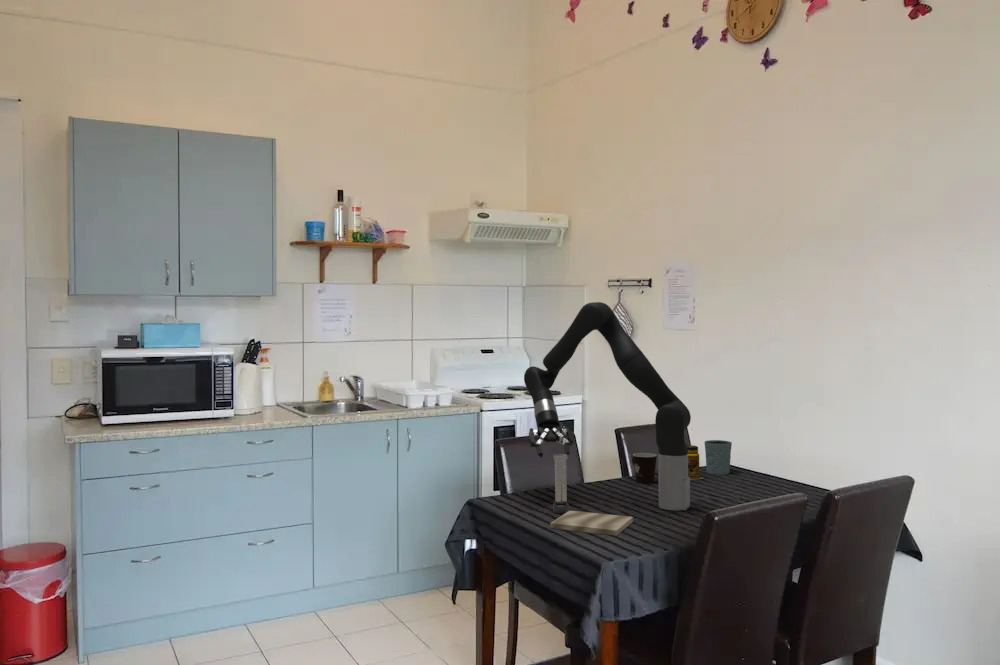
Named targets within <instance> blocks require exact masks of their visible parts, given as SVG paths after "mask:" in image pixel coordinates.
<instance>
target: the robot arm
mask: <svg viewBox="0 0 1000 665" xmlns="http://www.w3.org/2000/svg"><path fill="white" fill-rule="evenodd" d="M576 314H577V315H576V316H575V318H574V320H573V321H572V323H571V324H570V325H569V326H568V329H567V330H566V331H565V332H564V334H563V336H561V338H560V339H559V340H558V341H557V343H556V344H555V345H554V346H553V347H552V348H551V349H550V351H549V352H547V354H546V355H545V356H544V357H543V359H542V364H543V366H544V367H545V369H546V370H545V369H543V368H540V367H537V366H530V367H528V368H526V370H525V372H524V375H523V381H524V385H525V387H526V389H527V391H528V393H529V395H530V397H531V399H532V403H533V411H534V412H533V414H534V418H535V423H536V427H537V429H534V428H533V427H531V428H529V432H528V438H529V439H528V440H529V446H530V447H531V448H536V454H537V456H538V457H539V458H543V456H544V451H543V447H542V445H543V444H544V443H545V442H546V443H550V442H552V443H555V442H557V443H558V444H559V445H561V446H563V451H564V454H567V455H568V456H569V455H570V453H571V449H570V447H572V446H573V444H574V440H575V439H574V437H573V432H572V429H571V428H570V426H566V428H562V427H561V425H560V420H559V415H558V412H557V407H556V404H555V400H554V396H553V394H552V391H551V390H550V389H551V388H552V387H553V385H554V384H555V381H556V380H557V377H558V375H559V374H560V371H561V370H562V369H563V368H564V366H566V365H567V363H568V362H569V361H570V360H571V359H572V357H573V355H574V354H575V352H576V350H577V349H578V347H579V344H581V342H582V341H583V340H584V339H585V337H586V336H588V335H589V334H591V333H592V332H593V331H598V333H600V334H601V336H602V337H603V338H604V339H605V340H606V342H607V343H608V346H610V349H611V352H612V355H613V358H614V362H615V363H616V365H617V367H618V369H619V370H620V371H621V373H622V374H623V376H624V377H625V379H627V381H628V382H629V383H630V384H631V385H632V386H634V387H635V388H636V389H637V390H638V391H640V392H641V393H643V394H644V395H645V396H646V397H647V398H648V399H649V400H650V401H651V402H652V404H654V406H655V408H656V409H657V412H656V414H655V420H654V421H655V425H654V426H655V442H656V443H655V444H656V446H657V449H658V450H657V451H658V452H657V454H658V455H657V457H658V507H659V509H662V510H666V511H667V510H668V511H687V510H688V509H689V508H690V507H691V488H690V487H691V480H690V477H688V444H687V443H686V441H685V429H686V428H688V427H689V426H690V424H691V419H692V417H691V416H692V415H691V412H690V409H689V408H688V407H687V406H686V405H685V403H684V402H682V400H681V399H680V398H678V396H677V395H676V394H675V393H674V392H673V391H672V390H671V389H670V388H669V386H668V385H667V384H666V382H665V381H664V380H663V378H662V377H661V375H660V374H659V373H658V372H657V370H656V369H655V367H654V366H653V365H652V363H651V362H650V361H649V359H648V358H647V356H646V355H645V354H644V353H643V351H642V350H641V349H640V347H639V346H637V344H636V342H635V341H634V340H633V338H631V336H630V335H629V334H628V333H627V332H626V330H625V329H624V327H623V325H622V324H621V322H620V321H619V319H618V317H617V316H616V314H615V312H613V309H612V308H611V307H610V306H609V305H608V304H606V303H604V302H601V301H596V302H595V301H593V302H588V303H586V304H584V305H582V307H581V308H580V310H579V311H578V313H576ZM536 435H537V436H538V437H539V439H537V441H536V440H535V437H536ZM565 437H566V438H565Z"/></svg>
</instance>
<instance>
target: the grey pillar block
mask: <svg viewBox="0 0 1000 665" xmlns="http://www.w3.org/2000/svg"><path fill="white" fill-rule="evenodd" d="M552 456H553V460H554V502H553V504H552V512H553V514H555V515H557V514H558V515H563V514H565V513H567V512H568V511H570V504H569V503H568V500H567V496H568V495H567V494H568V493H567V491H568V490H567V460H568V459H569V458H568V457H569V455H567V454H565V453H558V454H557V453H556V454H553V455H552Z"/></svg>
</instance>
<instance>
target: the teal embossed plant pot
mask: <svg viewBox="0 0 1000 665" xmlns="http://www.w3.org/2000/svg"><path fill="white" fill-rule="evenodd" d="M704 450H705V464H706V466H705V467H706V473H707V474H708V473H709V475H716V476H726V475H730V472H731V454H732V453H731V452H732V441H729V440H722V439H714V440H713V439H711V440H705V441H704Z"/></svg>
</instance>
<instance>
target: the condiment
mask: <svg viewBox="0 0 1000 665" xmlns="http://www.w3.org/2000/svg"><path fill="white" fill-rule="evenodd" d="M687 446H688V477H690V481H695V480H701V479H704V477H702V476H700V454H699V447H698V446H697V445H692V444H691V445H688V444H687Z"/></svg>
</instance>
